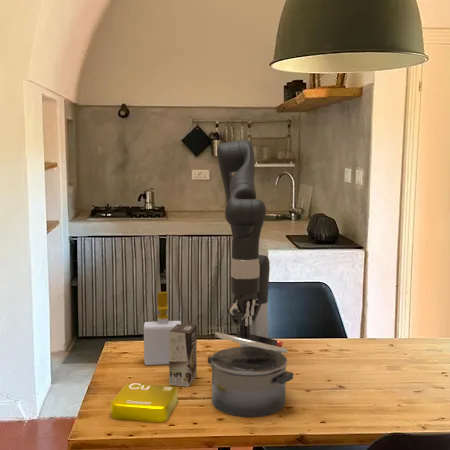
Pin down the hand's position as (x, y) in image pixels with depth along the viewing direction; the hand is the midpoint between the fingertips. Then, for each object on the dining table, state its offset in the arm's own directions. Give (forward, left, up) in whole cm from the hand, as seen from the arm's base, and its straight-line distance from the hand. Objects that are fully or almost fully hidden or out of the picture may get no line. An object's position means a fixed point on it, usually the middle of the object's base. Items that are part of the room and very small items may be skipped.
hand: (244, 338), depth 161 cm
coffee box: (-2, -24, -19) cm, 31 cm away
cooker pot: (-2, 0, -18) cm, 18 cm away
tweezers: (-14, -19, -19) cm, 30 cm away
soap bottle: (-10, -40, -19) cm, 45 cm away
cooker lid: (-3, 0, -3) cm, 4 cm away
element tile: (+19, -18, -19) cm, 33 cm away
